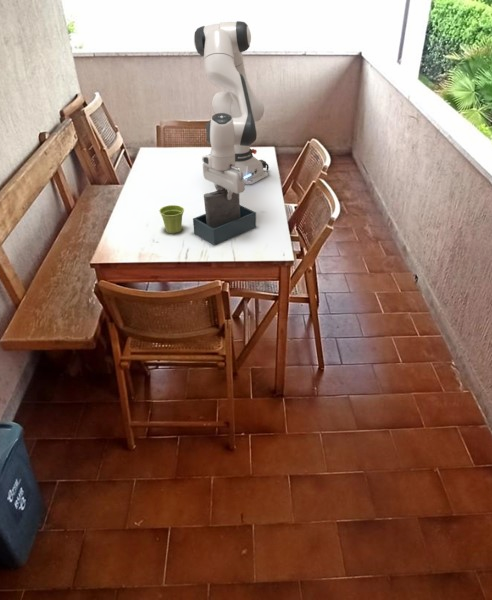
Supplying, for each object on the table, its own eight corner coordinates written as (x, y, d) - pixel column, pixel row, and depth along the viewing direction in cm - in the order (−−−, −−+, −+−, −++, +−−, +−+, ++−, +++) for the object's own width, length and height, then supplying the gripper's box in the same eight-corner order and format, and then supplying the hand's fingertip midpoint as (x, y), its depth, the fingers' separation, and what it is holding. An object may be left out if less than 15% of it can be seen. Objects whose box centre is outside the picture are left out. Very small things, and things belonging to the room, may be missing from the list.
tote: (235, 216, 203) (235, 202, 199) (255, 227, 195) (256, 212, 192) (193, 233, 191) (192, 218, 187) (214, 245, 183) (213, 229, 180)
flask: (242, 225, 194) (240, 183, 183) (210, 235, 189) (205, 192, 178) (238, 222, 196) (236, 180, 185) (206, 231, 191) (201, 188, 180)
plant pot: (164, 224, 197) (161, 204, 192) (187, 224, 197) (185, 205, 191) (159, 235, 189) (157, 215, 184) (183, 236, 189) (181, 215, 184)
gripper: (248, 167, 172) (248, 203, 180) (212, 152, 184) (213, 186, 192) (235, 171, 169) (235, 208, 177) (199, 156, 181) (201, 191, 189)
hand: (224, 196), depth 185 cm, fingers closed on flask, 4 cm apart
